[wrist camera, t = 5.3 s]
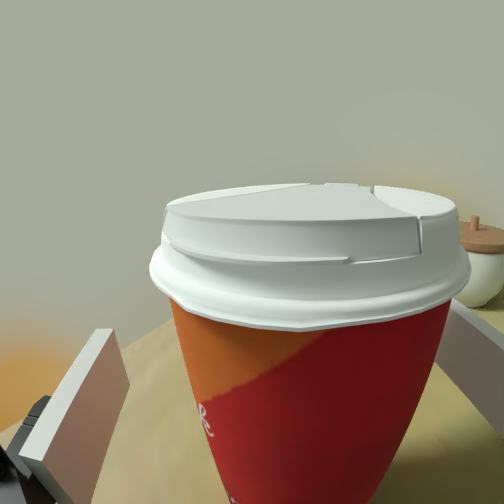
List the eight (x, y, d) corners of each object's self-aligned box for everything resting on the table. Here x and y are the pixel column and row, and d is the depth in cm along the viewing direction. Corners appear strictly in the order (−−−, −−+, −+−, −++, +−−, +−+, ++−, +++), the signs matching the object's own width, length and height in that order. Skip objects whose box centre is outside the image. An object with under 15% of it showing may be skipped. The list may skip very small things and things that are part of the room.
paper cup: (263, 437, 16) (250, 180, 12) (393, 470, 13) (457, 188, 9) (181, 534, 10) (66, 219, 6) (341, 596, 6) (531, 256, 2)
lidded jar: (465, 275, 37) (473, 207, 34) (520, 305, 26) (534, 224, 24) (406, 286, 36) (412, 208, 33) (461, 326, 25) (477, 229, 23)
